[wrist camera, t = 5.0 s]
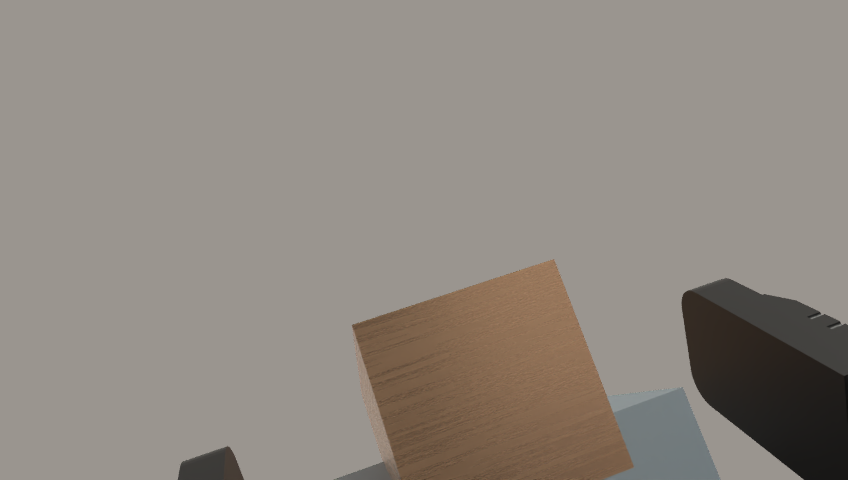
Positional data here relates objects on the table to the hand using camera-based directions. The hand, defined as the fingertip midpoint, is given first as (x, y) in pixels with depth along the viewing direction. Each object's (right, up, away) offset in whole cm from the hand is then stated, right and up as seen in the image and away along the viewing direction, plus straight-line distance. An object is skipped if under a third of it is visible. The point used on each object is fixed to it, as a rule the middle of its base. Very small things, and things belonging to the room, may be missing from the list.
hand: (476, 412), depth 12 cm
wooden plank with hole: (0, -3, +9) cm, 10 cm away
